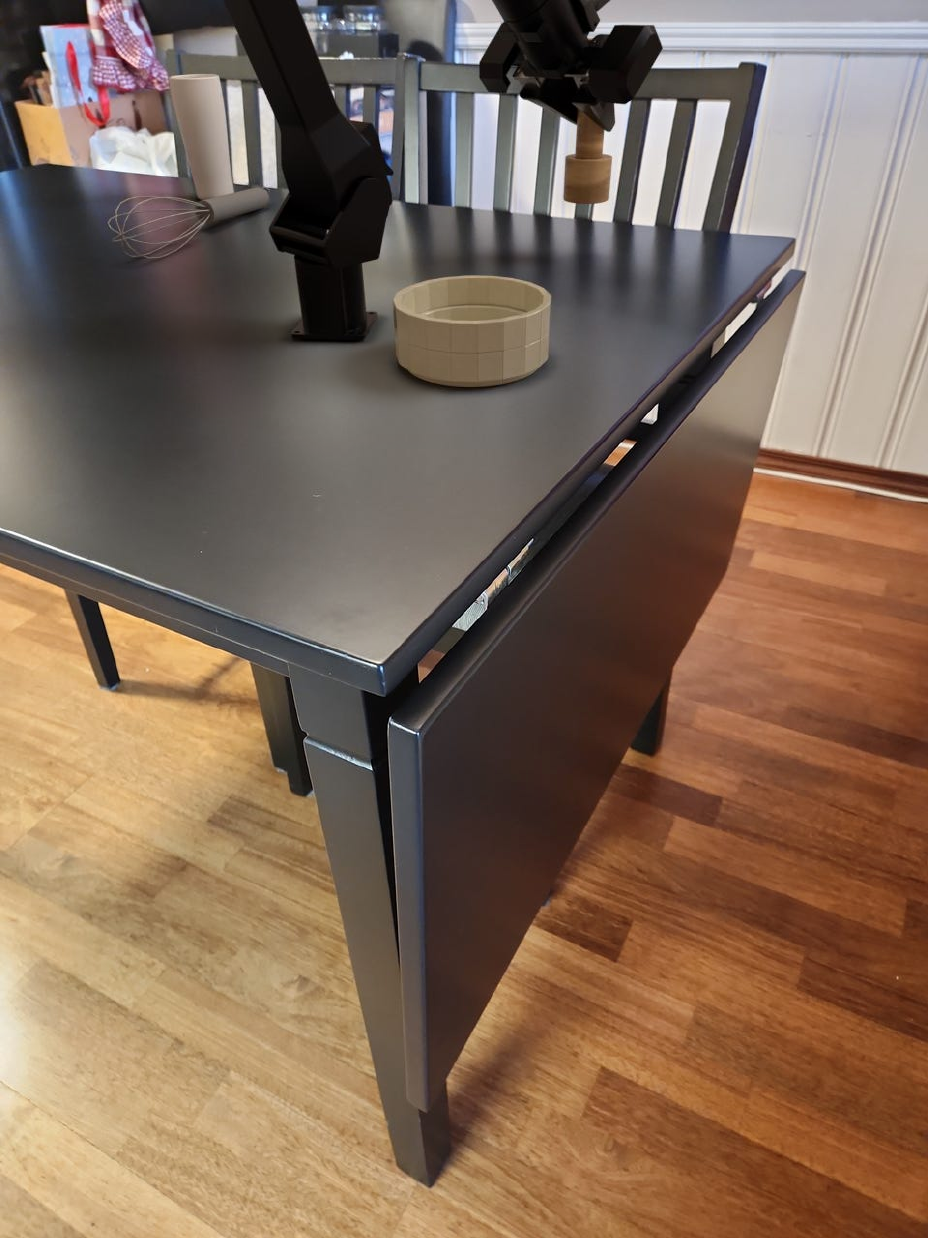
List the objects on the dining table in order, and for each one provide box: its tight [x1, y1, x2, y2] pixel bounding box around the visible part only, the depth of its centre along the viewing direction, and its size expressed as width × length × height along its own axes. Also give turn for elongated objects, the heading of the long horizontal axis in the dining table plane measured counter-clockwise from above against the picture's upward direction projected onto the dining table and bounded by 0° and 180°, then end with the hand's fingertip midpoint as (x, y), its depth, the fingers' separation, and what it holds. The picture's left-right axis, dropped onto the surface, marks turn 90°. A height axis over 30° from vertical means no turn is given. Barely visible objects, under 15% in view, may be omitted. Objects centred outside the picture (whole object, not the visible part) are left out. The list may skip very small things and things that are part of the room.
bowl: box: [392, 275, 552, 388], centre depth 65 cm, size 12×12×5 cm
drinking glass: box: [168, 73, 235, 201], centre depth 116 cm, size 7×7×15 cm
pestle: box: [562, 37, 613, 205], centre depth 83 cm, size 5×5×14 cm
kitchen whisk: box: [107, 186, 271, 260], centre depth 102 cm, size 6×34×6 cm, turn 163°
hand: (599, 126), depth 84 cm, fingers closed on pestle, 3 cm apart
